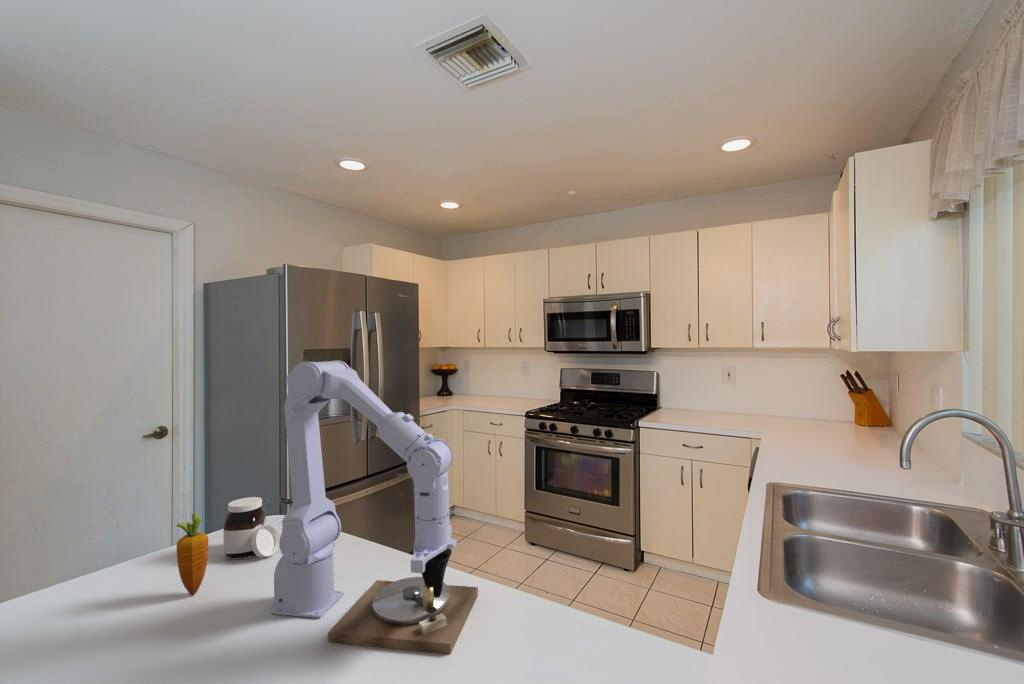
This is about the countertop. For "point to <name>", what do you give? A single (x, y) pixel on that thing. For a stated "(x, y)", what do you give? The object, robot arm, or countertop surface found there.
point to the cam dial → (408, 601)
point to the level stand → (421, 636)
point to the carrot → (192, 555)
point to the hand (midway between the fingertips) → (434, 595)
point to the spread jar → (248, 530)
